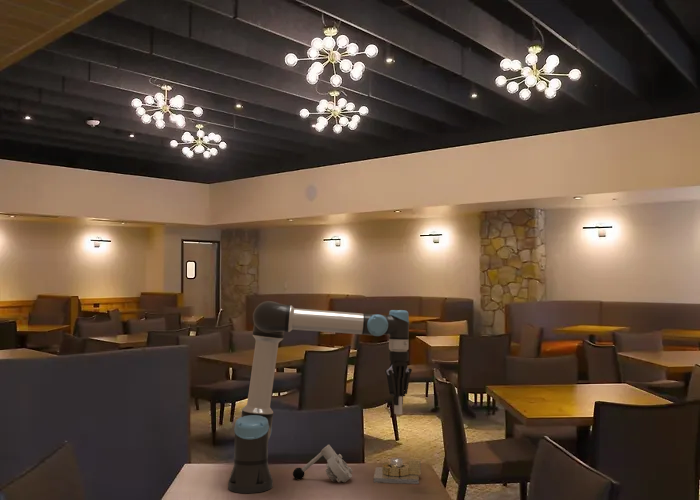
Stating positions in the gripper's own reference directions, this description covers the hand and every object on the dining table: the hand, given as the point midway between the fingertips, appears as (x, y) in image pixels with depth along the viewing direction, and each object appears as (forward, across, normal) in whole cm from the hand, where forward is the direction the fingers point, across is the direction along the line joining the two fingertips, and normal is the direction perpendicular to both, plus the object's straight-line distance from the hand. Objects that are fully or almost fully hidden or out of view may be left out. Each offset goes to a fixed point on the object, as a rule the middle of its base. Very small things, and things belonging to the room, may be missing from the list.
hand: (398, 413), depth 229 cm
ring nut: (+21, -1, -3) cm, 21 cm away
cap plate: (+23, -2, -2) cm, 23 cm away
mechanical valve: (+23, -25, +14) cm, 37 cm away
